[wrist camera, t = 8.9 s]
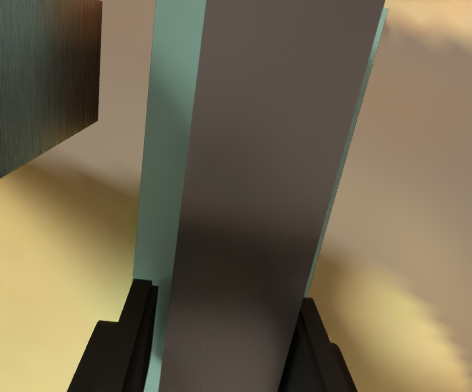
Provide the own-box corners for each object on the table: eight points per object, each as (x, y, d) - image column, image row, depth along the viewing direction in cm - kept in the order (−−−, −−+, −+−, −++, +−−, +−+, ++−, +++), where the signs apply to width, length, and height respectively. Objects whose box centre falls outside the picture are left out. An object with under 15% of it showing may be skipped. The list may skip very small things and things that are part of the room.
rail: (219, 499, 16) (221, 596, 13) (148, 496, 15) (133, 594, 13) (336, 2, 9) (390, -20, 6) (213, -22, 9) (212, -56, 6)
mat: (248, 484, 16) (249, 499, 16) (118, 477, 16) (115, 492, 15) (378, 11, 10) (388, 8, 9) (162, -33, 9) (158, -38, 9)
